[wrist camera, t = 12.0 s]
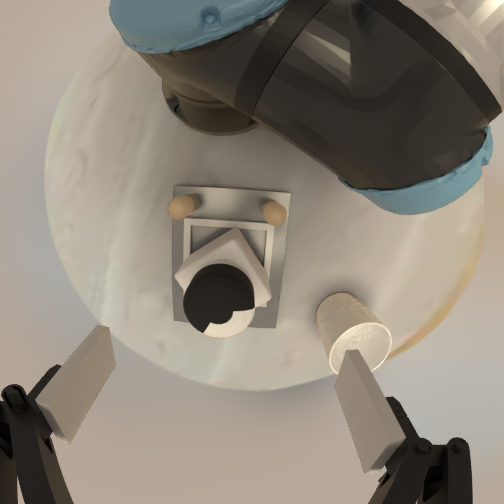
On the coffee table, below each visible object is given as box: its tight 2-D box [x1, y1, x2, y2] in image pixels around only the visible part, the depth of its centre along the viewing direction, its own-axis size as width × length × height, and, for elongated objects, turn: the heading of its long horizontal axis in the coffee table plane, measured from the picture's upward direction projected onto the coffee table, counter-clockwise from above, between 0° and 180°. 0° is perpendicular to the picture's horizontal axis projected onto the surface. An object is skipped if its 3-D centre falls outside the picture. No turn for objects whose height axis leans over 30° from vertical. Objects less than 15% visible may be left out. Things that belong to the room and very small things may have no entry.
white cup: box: [316, 293, 392, 375], centre depth 33 cm, size 8×8×10 cm
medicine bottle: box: [175, 227, 272, 337], centre depth 28 cm, size 7×7×12 cm
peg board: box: [168, 186, 291, 328], centre depth 32 cm, size 18×14×7 cm
